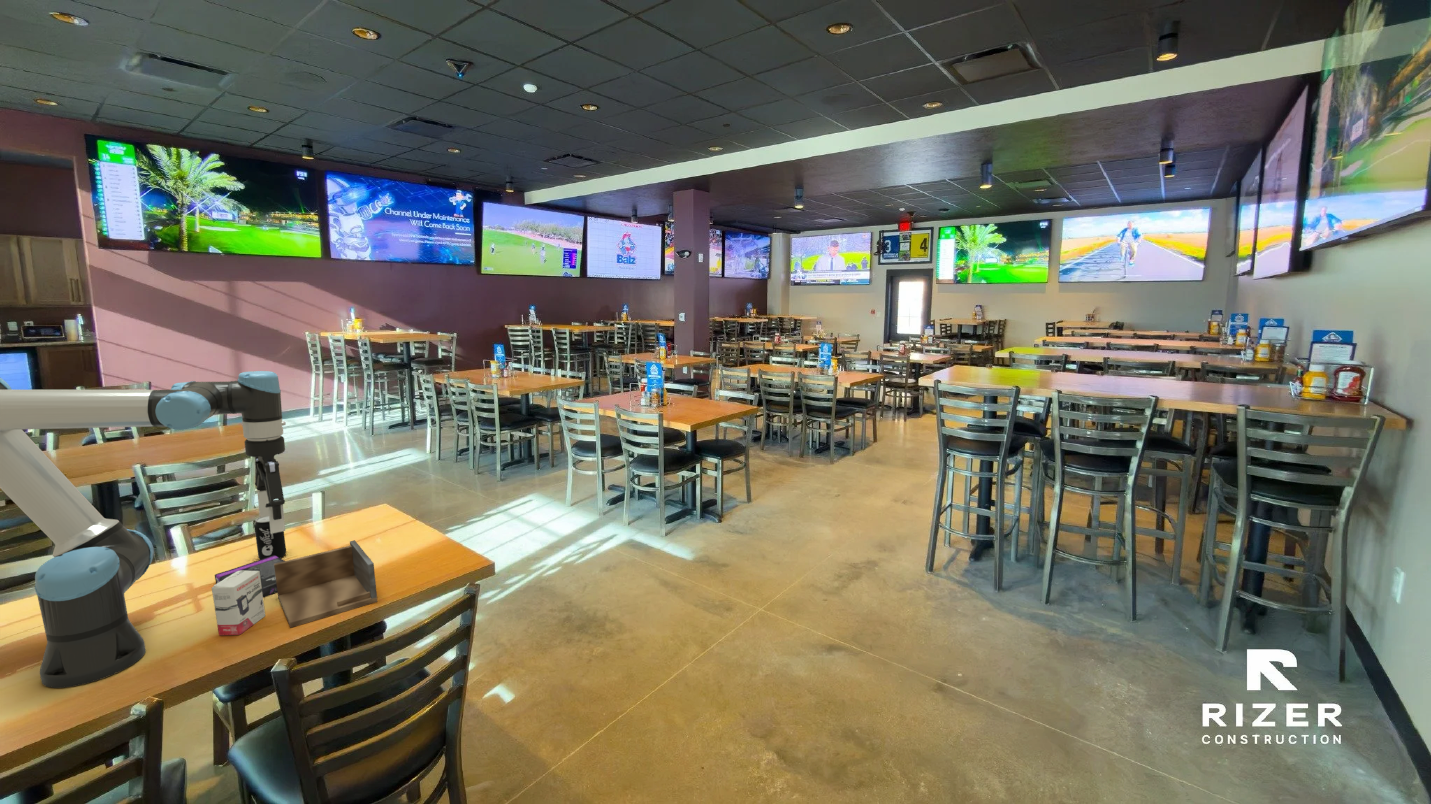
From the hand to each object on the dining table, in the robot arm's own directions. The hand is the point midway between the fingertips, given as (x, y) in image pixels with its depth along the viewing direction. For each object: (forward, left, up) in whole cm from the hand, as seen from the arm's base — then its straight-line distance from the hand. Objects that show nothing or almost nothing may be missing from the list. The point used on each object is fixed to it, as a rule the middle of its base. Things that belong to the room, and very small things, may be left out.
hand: (272, 523), depth 146 cm
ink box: (-8, -5, -21) cm, 23 cm away
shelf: (+9, -4, -21) cm, 23 cm away
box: (-2, +18, -22) cm, 28 cm away
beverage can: (+2, +34, -21) cm, 40 cm away
